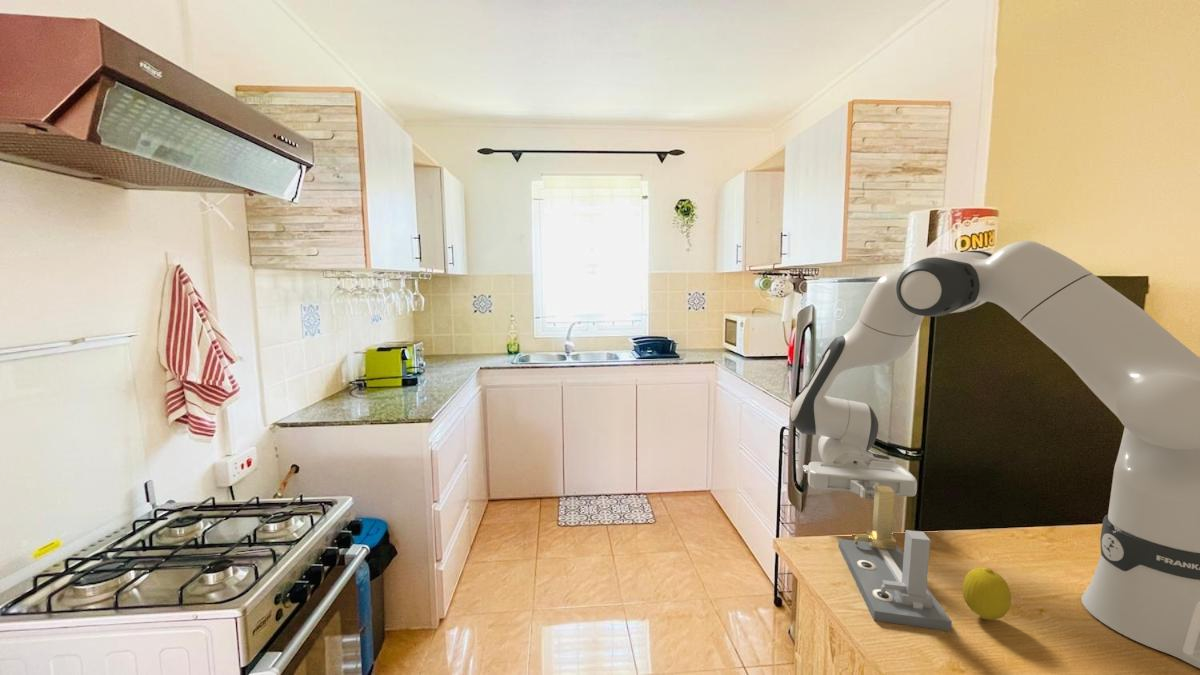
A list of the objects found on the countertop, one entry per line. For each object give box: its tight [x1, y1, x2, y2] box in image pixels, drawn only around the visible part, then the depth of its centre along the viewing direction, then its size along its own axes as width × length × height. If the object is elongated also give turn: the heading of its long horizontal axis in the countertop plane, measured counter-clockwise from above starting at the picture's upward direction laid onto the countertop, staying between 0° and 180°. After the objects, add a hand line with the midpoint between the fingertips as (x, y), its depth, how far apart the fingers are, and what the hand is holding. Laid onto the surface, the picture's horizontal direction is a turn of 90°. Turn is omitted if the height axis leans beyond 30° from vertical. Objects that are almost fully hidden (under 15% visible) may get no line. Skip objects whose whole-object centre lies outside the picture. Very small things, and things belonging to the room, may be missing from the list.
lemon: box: [962, 567, 1012, 620], centre depth 69 cm, size 6×6×8 cm
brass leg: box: [854, 485, 898, 550], centre depth 85 cm, size 6×3×11 cm, turn 77°
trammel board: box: [838, 529, 953, 632], centre depth 77 cm, size 10×20×12 cm, turn 167°
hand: (870, 495), depth 92 cm, fingers closed
